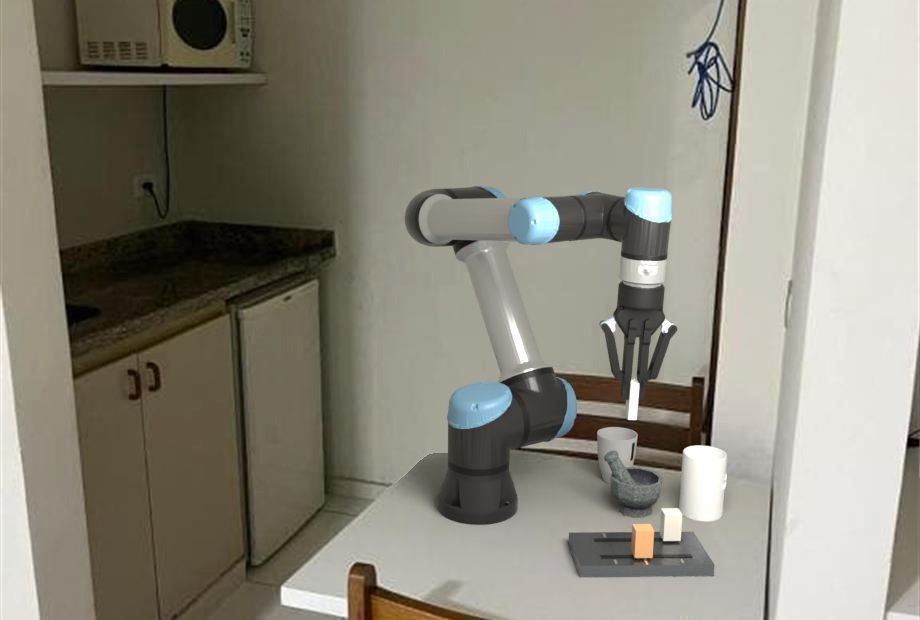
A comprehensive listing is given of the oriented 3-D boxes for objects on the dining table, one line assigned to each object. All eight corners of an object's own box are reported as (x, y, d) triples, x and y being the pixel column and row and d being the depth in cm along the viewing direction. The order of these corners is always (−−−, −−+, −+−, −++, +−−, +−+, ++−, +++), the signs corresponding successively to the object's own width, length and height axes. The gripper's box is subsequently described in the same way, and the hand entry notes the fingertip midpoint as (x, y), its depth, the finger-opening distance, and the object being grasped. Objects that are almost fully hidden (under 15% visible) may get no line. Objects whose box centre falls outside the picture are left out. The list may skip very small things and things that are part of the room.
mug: (706, 494, 182) (710, 437, 180) (730, 521, 171) (735, 460, 168) (666, 496, 181) (669, 438, 179) (687, 522, 170) (692, 461, 167)
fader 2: (663, 541, 157) (665, 514, 156) (659, 534, 160) (661, 508, 159) (680, 540, 157) (682, 514, 156) (676, 534, 160) (678, 508, 159)
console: (579, 577, 150) (580, 565, 149) (568, 543, 161) (568, 532, 161) (713, 575, 151) (714, 564, 150) (692, 542, 162) (693, 531, 162)
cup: (634, 489, 185) (637, 442, 182) (593, 485, 186) (596, 438, 184) (635, 474, 192) (637, 428, 190) (596, 470, 194) (598, 425, 192)
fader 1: (634, 558, 151) (636, 531, 150) (630, 550, 154) (632, 524, 153) (652, 558, 151) (654, 530, 150) (648, 550, 154) (650, 523, 153)
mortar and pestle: (654, 500, 179) (658, 442, 177) (666, 521, 170) (670, 460, 168) (597, 500, 179) (599, 442, 176) (606, 522, 170) (609, 460, 167)
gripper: (606, 286, 148) (596, 424, 154) (687, 288, 148) (673, 426, 154) (598, 276, 155) (589, 408, 161) (675, 278, 156) (663, 410, 161)
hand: (630, 417), depth 158 cm, fingers closed
